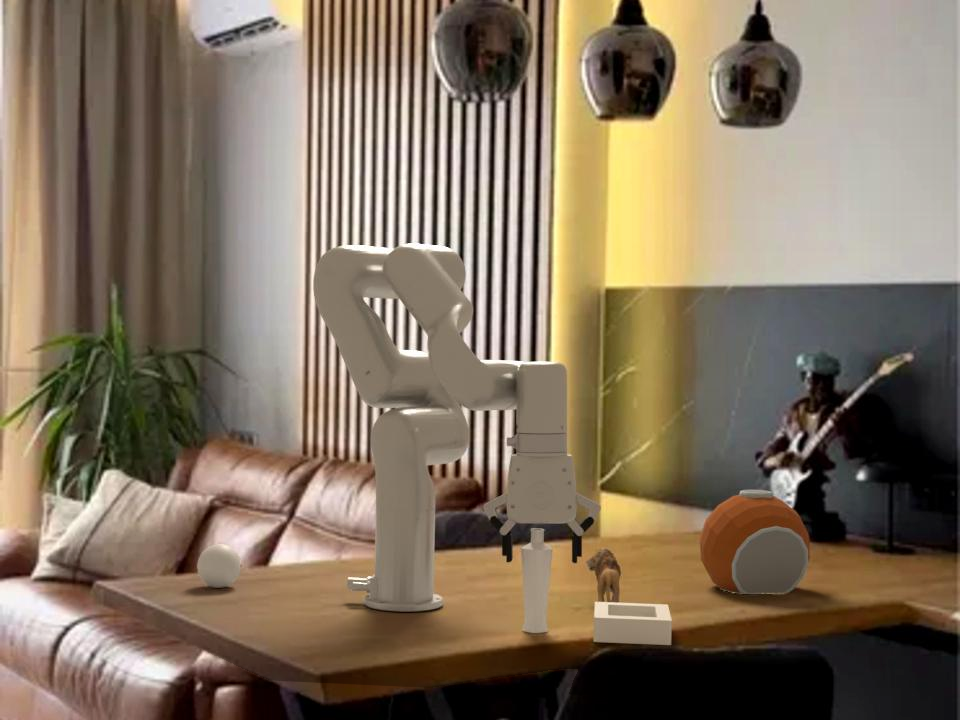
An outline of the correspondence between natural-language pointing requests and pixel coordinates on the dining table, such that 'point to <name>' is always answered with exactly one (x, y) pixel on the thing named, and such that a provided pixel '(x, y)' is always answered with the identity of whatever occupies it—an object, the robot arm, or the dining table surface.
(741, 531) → the alarm clock
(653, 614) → the white rectangular box
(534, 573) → the perfume bottle
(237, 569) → the off-white rounded piece
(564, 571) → the dining table surface
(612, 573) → the lion figurine
